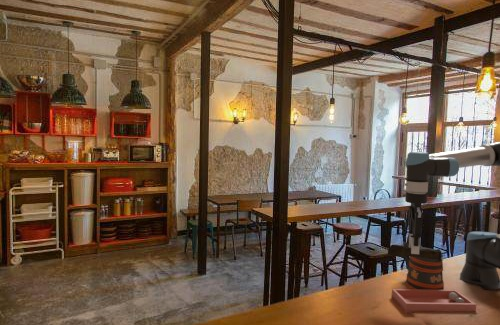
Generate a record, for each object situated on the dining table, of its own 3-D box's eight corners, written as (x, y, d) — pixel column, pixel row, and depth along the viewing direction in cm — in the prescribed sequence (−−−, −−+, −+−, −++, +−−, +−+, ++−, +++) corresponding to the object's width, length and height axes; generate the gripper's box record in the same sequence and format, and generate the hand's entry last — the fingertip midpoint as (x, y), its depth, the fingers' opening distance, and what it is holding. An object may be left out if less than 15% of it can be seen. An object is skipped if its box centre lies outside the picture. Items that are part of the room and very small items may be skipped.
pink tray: (455, 298, 136) (455, 289, 135) (475, 313, 124) (476, 304, 123) (391, 297, 135) (391, 289, 135) (405, 312, 123) (406, 303, 123)
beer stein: (389, 280, 151) (392, 237, 150) (412, 275, 157) (415, 234, 156) (427, 299, 134) (430, 250, 133) (451, 293, 140) (454, 246, 139)
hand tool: (438, 258, 131) (439, 246, 130) (441, 261, 127) (442, 249, 126) (386, 253, 135) (387, 242, 135) (388, 256, 131) (388, 245, 131)
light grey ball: (454, 298, 133) (455, 290, 133) (459, 302, 130) (460, 294, 130) (446, 298, 133) (447, 290, 133) (451, 302, 130) (452, 294, 130)
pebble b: (460, 303, 129) (461, 296, 129) (466, 307, 126) (466, 299, 126) (453, 303, 129) (453, 296, 129) (458, 307, 126) (458, 299, 126)
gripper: (401, 188, 138) (399, 244, 139) (410, 195, 122) (407, 258, 123) (421, 189, 136) (419, 246, 138) (433, 196, 120) (430, 260, 122)
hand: (413, 251), depth 131 cm, fingers closed on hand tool, 3 cm apart
